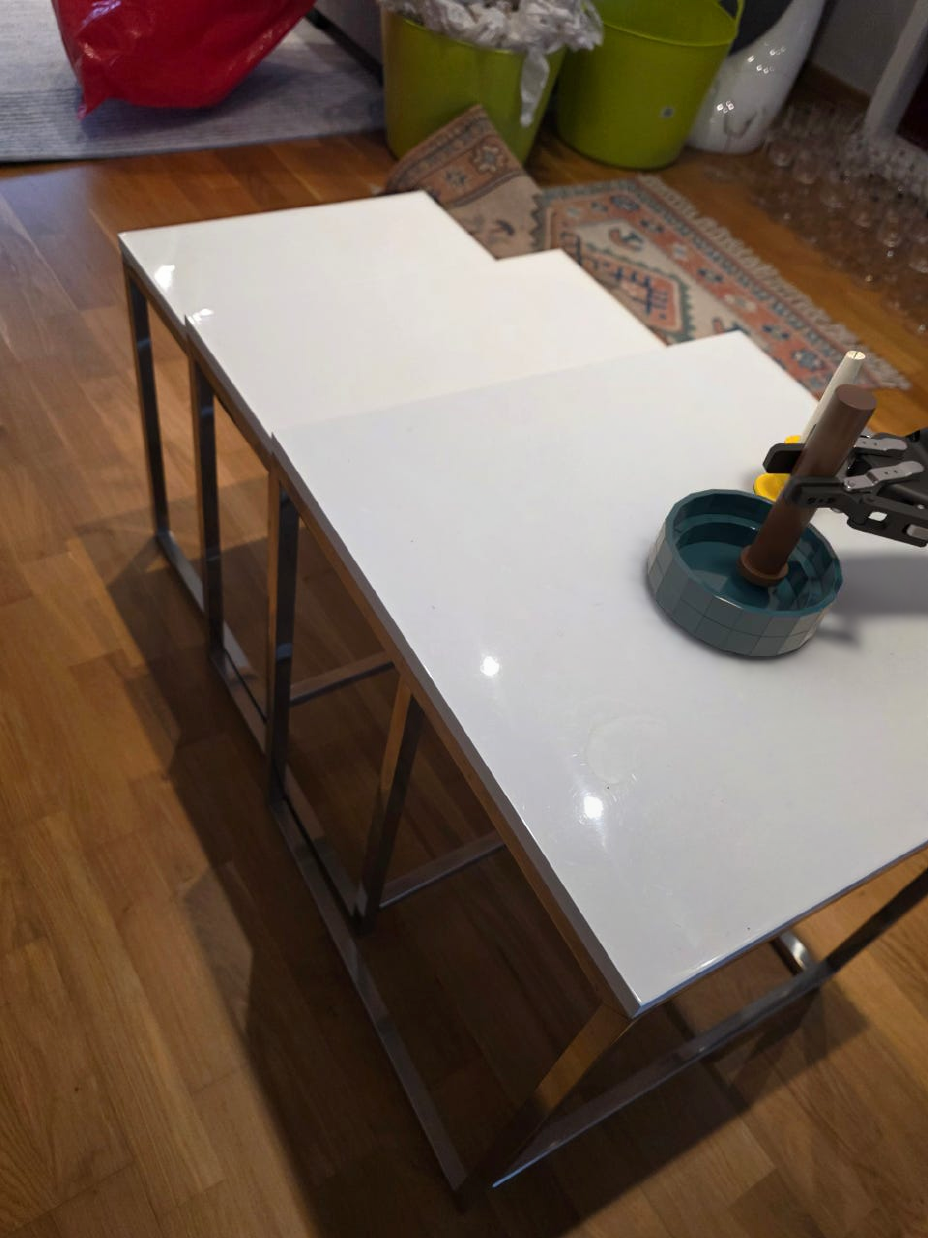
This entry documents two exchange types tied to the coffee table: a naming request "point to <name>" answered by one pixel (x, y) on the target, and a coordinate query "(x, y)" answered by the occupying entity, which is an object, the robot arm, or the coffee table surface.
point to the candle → (811, 422)
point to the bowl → (739, 576)
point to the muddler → (817, 458)
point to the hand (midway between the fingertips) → (778, 475)
